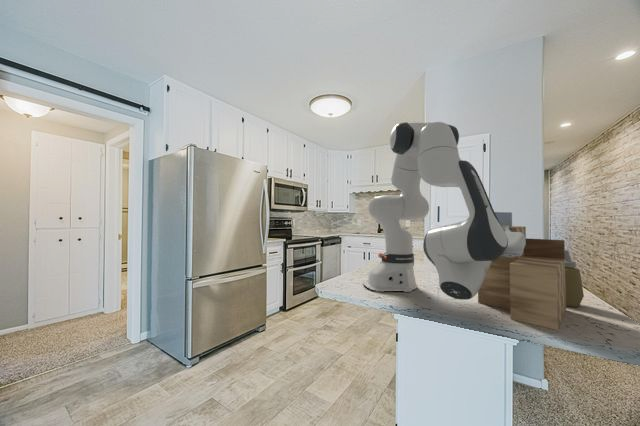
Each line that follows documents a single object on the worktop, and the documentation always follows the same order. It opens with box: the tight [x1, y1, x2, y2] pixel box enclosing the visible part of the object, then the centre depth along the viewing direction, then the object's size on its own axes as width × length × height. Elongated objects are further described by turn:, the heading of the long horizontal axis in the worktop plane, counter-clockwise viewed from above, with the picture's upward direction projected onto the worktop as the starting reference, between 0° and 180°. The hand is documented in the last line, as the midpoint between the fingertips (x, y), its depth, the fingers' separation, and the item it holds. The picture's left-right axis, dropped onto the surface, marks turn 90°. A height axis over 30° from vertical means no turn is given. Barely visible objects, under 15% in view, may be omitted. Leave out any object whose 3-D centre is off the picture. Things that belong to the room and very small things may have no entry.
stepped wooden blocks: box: [477, 225, 567, 331], centre depth 83 cm, size 23×21×26 cm
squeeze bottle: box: [565, 249, 585, 308], centre depth 86 cm, size 8×8×18 cm
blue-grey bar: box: [494, 211, 513, 227], centre depth 86 cm, size 19×4×5 cm, turn 132°
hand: (487, 226), depth 79 cm, fingers open, 8 cm apart
